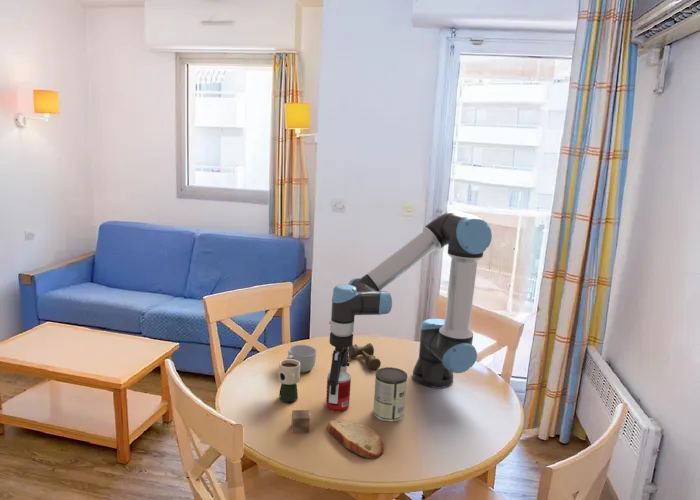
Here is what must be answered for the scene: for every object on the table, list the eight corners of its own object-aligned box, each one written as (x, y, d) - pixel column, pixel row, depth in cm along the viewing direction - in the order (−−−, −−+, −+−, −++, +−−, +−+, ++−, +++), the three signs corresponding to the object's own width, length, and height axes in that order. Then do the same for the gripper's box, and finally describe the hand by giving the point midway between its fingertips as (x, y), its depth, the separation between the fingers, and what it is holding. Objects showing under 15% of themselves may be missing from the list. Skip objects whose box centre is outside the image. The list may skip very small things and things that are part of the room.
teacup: (303, 361, 219) (304, 341, 217) (321, 370, 211) (322, 350, 210) (274, 370, 209) (275, 350, 208) (293, 380, 202) (293, 359, 200)
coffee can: (377, 403, 188) (380, 364, 185) (407, 410, 185) (410, 370, 182) (368, 417, 179) (371, 377, 176) (399, 424, 176) (403, 383, 173)
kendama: (363, 373, 212) (343, 352, 230) (385, 371, 216) (364, 350, 234) (364, 359, 211) (344, 338, 229) (387, 357, 215) (366, 337, 232)
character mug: (274, 393, 191) (275, 357, 189) (294, 390, 194) (295, 355, 191) (282, 408, 182) (283, 371, 179) (303, 405, 184) (304, 368, 181)
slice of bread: (327, 423, 175) (328, 412, 174) (384, 428, 173) (385, 418, 173) (319, 455, 157) (319, 443, 157) (382, 462, 156) (383, 450, 155)
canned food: (350, 401, 188) (352, 371, 186) (347, 413, 181) (349, 382, 178) (327, 399, 189) (329, 369, 187) (324, 411, 181) (325, 379, 179)
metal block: (307, 424, 173) (308, 409, 172) (309, 433, 168) (309, 418, 167) (291, 425, 172) (292, 410, 171) (292, 433, 167) (293, 418, 166)
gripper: (338, 319, 192) (334, 376, 196) (321, 344, 168) (317, 409, 172) (359, 321, 191) (355, 379, 195) (345, 348, 167) (340, 413, 171)
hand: (337, 393), depth 184 cm, fingers open, 13 cm apart
